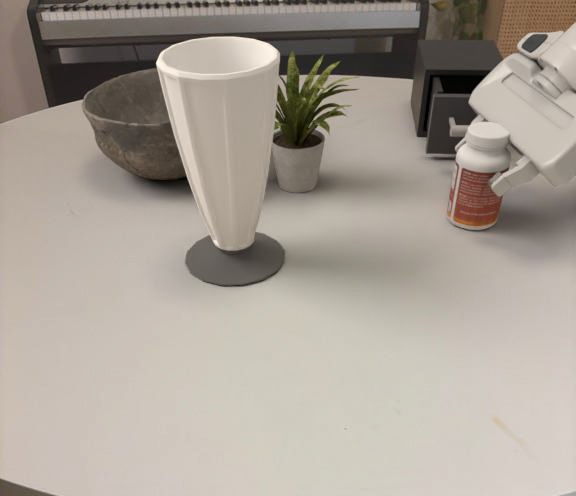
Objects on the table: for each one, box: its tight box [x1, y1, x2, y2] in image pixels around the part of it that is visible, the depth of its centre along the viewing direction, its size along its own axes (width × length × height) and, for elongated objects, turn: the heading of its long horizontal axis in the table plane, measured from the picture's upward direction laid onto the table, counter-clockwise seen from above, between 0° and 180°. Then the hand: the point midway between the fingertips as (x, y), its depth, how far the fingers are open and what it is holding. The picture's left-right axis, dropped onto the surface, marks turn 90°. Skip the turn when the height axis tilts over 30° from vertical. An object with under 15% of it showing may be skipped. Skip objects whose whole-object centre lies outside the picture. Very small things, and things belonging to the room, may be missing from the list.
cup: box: [155, 36, 285, 287], centre depth 66 cm, size 12×12×22 cm
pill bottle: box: [446, 122, 512, 231], centre depth 75 cm, size 6×6×11 cm
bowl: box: [81, 67, 187, 181], centre depth 87 cm, size 21×21×10 cm
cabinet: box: [410, 39, 505, 138], centre depth 98 cm, size 14×12×10 cm
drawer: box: [425, 75, 486, 155], centre depth 90 cm, size 17×10×8 cm, turn 176°
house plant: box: [271, 50, 359, 194], centre depth 80 cm, size 14×14×16 cm
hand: (475, 172), depth 75 cm, fingers open, 8 cm apart
